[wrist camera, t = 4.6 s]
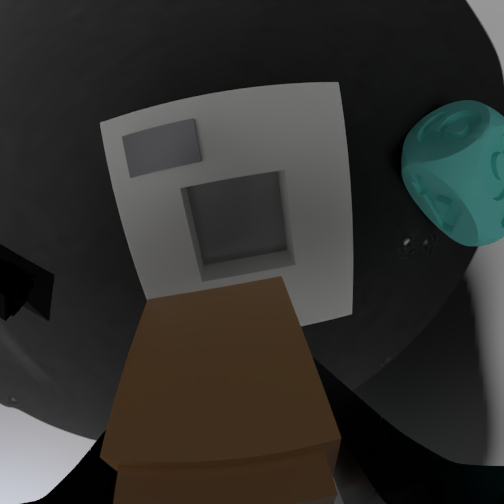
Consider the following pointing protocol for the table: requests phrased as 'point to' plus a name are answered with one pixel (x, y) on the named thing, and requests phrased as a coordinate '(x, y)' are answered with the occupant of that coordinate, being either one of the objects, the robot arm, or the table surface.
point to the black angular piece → (23, 286)
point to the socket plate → (239, 193)
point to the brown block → (222, 404)
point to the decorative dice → (458, 171)
